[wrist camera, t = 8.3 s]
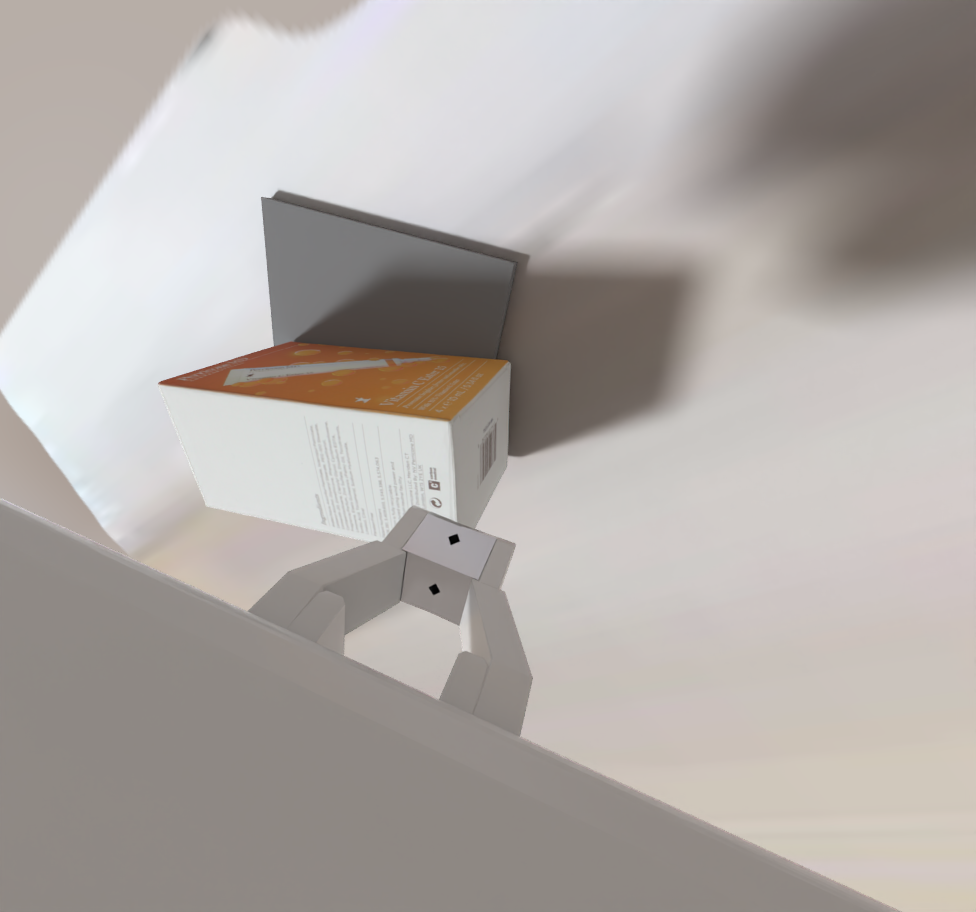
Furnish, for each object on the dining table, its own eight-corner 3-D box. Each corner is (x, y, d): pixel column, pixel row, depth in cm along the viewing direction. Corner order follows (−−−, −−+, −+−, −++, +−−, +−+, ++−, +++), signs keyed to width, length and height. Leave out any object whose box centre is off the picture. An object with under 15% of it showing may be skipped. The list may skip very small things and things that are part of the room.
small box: (454, 419, 13) (148, 382, 16) (460, 566, 16) (202, 510, 19) (512, 356, 20) (290, 339, 23) (508, 467, 23) (313, 439, 26)
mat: (517, 262, 18) (513, 263, 18) (470, 475, 24) (467, 480, 24) (270, 198, 20) (261, 197, 19) (286, 411, 26) (279, 414, 26)
